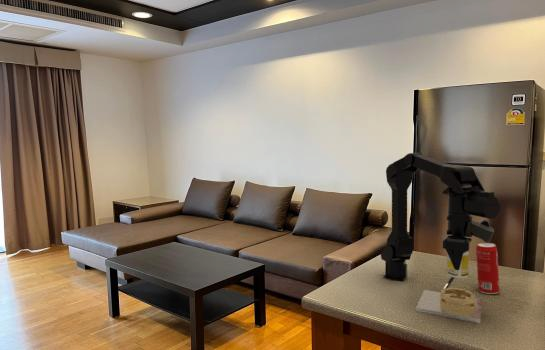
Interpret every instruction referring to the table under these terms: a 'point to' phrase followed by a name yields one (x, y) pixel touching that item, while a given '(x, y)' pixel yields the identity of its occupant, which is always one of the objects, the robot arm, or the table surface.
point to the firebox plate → (451, 304)
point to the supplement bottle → (463, 269)
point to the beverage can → (487, 268)
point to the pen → (448, 283)
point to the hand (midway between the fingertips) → (457, 266)
